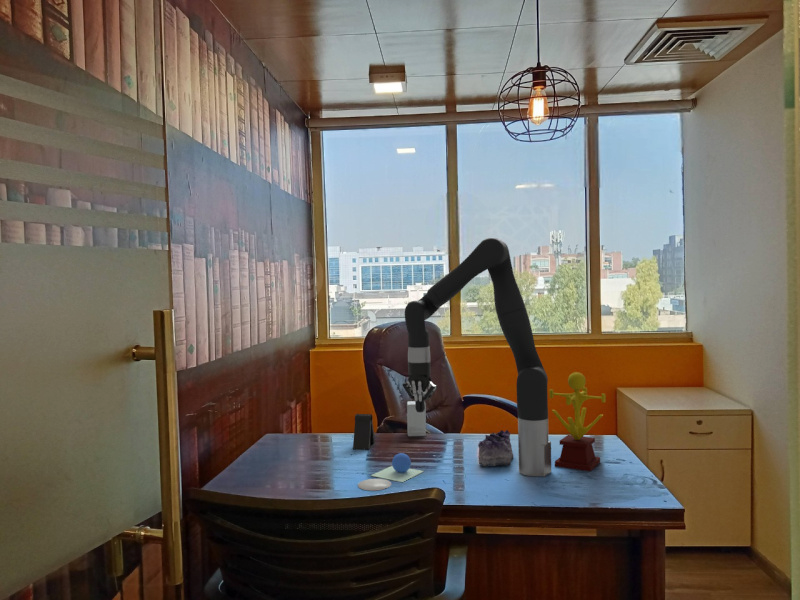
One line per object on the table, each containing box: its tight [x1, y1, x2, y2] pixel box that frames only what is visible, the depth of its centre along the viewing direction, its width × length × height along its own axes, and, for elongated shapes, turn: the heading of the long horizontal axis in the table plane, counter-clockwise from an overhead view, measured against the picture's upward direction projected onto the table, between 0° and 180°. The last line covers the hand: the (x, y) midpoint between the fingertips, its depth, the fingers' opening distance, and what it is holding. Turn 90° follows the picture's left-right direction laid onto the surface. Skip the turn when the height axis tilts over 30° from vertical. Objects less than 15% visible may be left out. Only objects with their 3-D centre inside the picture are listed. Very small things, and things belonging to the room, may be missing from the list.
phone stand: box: [352, 413, 376, 451], centre depth 220 cm, size 9×6×12 cm, turn 166°
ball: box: [391, 452, 412, 473], centre depth 188 cm, size 6×6×6 cm
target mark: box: [370, 465, 424, 483], centre depth 187 cm, size 12×12×1 cm
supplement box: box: [406, 400, 427, 437], centre depth 236 cm, size 7×7×13 cm
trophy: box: [549, 371, 607, 472], centre depth 193 cm, size 14×16×30 cm
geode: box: [477, 429, 514, 468], centre depth 200 cm, size 20×12×10 cm, turn 163°
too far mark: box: [357, 478, 392, 492], centre depth 177 cm, size 10×10×1 cm
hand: (420, 411), depth 198 cm, fingers closed
